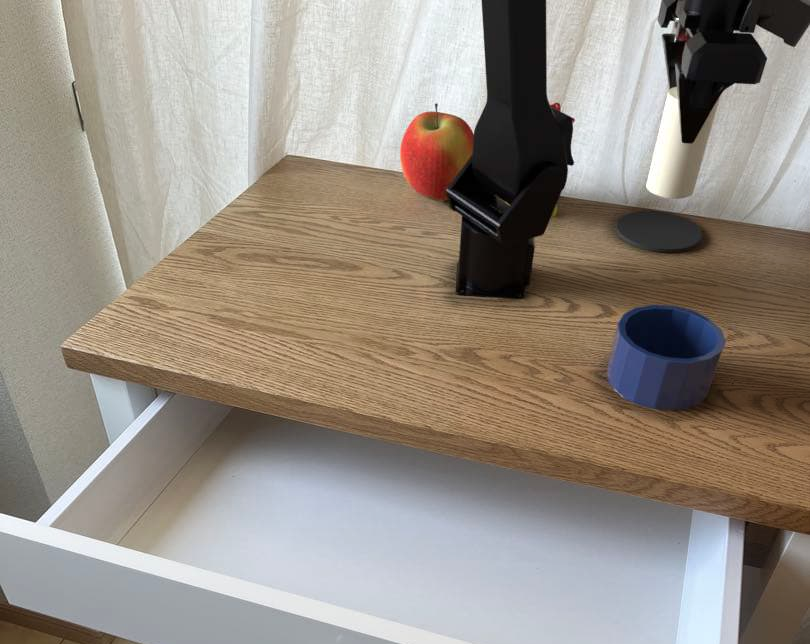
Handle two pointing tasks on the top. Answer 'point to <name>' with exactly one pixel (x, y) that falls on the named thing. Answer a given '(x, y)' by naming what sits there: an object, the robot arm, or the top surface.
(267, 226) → the top surface
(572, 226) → the top surface
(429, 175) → the apple
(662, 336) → the cup
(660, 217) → the coaster
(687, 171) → the cream cylinder
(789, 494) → the top surface
